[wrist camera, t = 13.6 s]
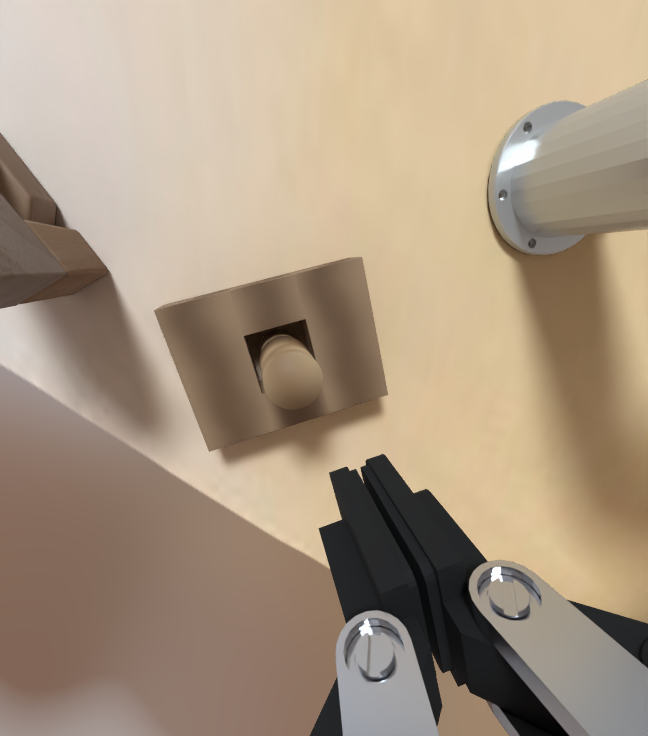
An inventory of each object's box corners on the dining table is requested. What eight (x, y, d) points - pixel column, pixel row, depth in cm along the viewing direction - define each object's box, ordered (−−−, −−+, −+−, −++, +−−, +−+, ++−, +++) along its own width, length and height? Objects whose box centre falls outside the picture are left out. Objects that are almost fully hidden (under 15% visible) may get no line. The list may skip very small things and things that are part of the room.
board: (349, 257, 31) (362, 257, 28) (374, 382, 35) (388, 394, 32) (163, 305, 29) (153, 310, 26) (212, 432, 33) (209, 451, 30)
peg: (293, 320, 32) (315, 345, 22) (303, 360, 33) (328, 399, 24) (251, 332, 31) (256, 362, 22) (263, 372, 32) (272, 416, 23)
